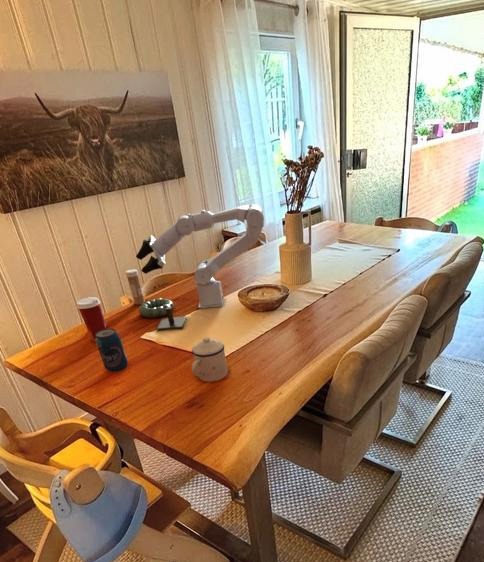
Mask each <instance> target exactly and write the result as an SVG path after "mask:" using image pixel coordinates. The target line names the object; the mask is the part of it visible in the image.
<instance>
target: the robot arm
mask: <svg viewBox="0 0 484 562" xmlns="http://www.w3.org/2000/svg"><path fill="white" fill-rule="evenodd" d="M235 220H237V221H238V222H241V223H243V224H245V222H246V226H245V227H246V228H245V233H243V234H242V235H241V236H240V237H238V238H237V239H235V240H233V242H231V243H230V244H229V245H227V246H225V248H224V249H222V250H221V251H219V252H218V253H217V254H215V255H214V256H213V257H210V258H208V259H206V260H204V261H200V262H199V263H197V264H196V267H195V272H194V276H193V277H194V280H195V286H196V289H197V296H198V301H199V303H198V305H197V308H198V309H207V308H208V309H209V308H219V307H223V305H224V304H223V303H224V301H225V298H224V295H223V293H224V292H223V286H222V282H221V281H220V280H215V278H214V277H215V276H216V275H217V274H218V272H219V271H220V270H222V269H223V268H224V267H225V266H227V265H228V264H229V263H231V262H232V261H233V260H235V259H236V258H238V257H239V256H240V255H241V254H243V253H244V252H245V251H247V250H248V249H250V248H251V247H253V246H254V245H255V244H257V242H258V241H259V240H260V236H261V233H262V231H263V229H264V226H265V216H264V213H263V209H262V207H261V206H260V205H258V204H255V203H254V204H250V205H248V204H247V205H246V204H244V205H240V206H236V207H233V208H229V209H225V210H221V211H218V212H214V213H212V212H210V211H209V210H206V209H201V210H200V212H197V213H193V214H192V213H187V215H181V216H178V218H177V220H176V222H175V223H173V224H172V225H171V226H168V228H167V229H166V230H165V231H164V232H162V234H161V235H160V236H158V237H157V238H155V237H154V236H153V235H149V236H148V237H147V239H143V241H142V244H141V247H140V248H139V251H138V252H137V254H136V255H135V258H137V259H138V260H140V261H142V260H143V259H145V258H146V257H147V256H148V255H150V254H152V253H153V254H154V256H155V257H154V256H152V255H150V257H149V259H148V261H147V263H146V264H145V265H144V266H143V267H142V268H141V269H140V270H141V272H142V273H143V274H145V275H147V274H148V273H150V272H153V271H156V270H161V269H163V268H164V266H165V265H166V264H167V263H166V259H165V258H166V256H165V255H166V254H168V252H170V251H171V250H172V249H173V248H174V247H175V246H177V245H178V244H179V243H180V242H181V241H182V239H184V238H185V236H190V235H191V234H192V233H193V232H200V231H204V230H205V231H206V230H208V229H212V228H214V226H215V224H218V223H224V222H230V221H235Z"/></svg>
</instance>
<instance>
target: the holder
mask: <svg viewBox="0 0 484 562" xmlns="http://www.w3.org/2000/svg"><path fill="white" fill-rule="evenodd" d="M166 312H167V315H166V316H167V317H163V318H161V319H160V322H159V324H158V326H157V328H156V330H157V332H162V331H163V332H164V331H174V330H175V331H176V330H183V329H184V327H185V324H186V321H187V316H174V313H173V310H172V309H171V307H167V308H166Z"/></svg>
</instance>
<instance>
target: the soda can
mask: <svg viewBox="0 0 484 562" xmlns="http://www.w3.org/2000/svg"><path fill="white" fill-rule="evenodd" d="M95 341H96V342H95V344H96V347H97V351H98V352H99V355H100V358H101V361H102V364H103V367H104V369H105V370H107V371H108V372H109V373H119V372H122V371H124V370H125V369H126V368H127V367H128V364H129V360H128V357H127V354H126V352H125V348H124V344H123V342H122V339H121V336H120V333H119V332H118V331H116V329H115V328H112V327H109V328H107V329H103V330H100V331H98V332H97V333H96V339H95Z"/></svg>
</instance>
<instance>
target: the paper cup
mask: <svg viewBox="0 0 484 562" xmlns="http://www.w3.org/2000/svg"><path fill="white" fill-rule="evenodd" d="M76 308H77V309H78V311H79V313H80V315H81V317H82V320H83V322H84V324H85V328H86V330H87V331H88V333H89V336H90V338H91V340H92V341H93V342H94V343H96V341H95V339H96V333H97V332H98V331H100V330H103V329H108V328H107V324H106V321H105V317H104V313H103V309H102V306H101V300H99V298H98V297H97V296H89V297H83V298H81V299H79V300H78V301H76Z"/></svg>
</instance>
